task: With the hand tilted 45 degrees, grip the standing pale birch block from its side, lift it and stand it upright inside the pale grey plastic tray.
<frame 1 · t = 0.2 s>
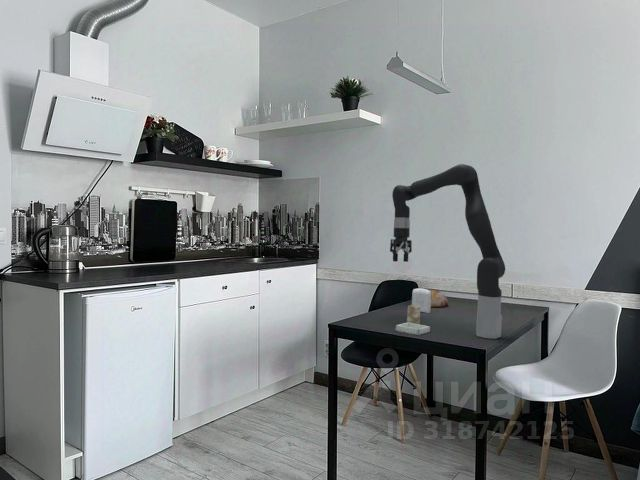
hand: (400, 261, 238), 28 cm above the table, fingers open, 8 cm apart
tray: (412, 331, 215), on the table
birch block: (413, 325, 227), on the table
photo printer: (420, 312, 265), on the table
bread: (432, 306, 288), on the table
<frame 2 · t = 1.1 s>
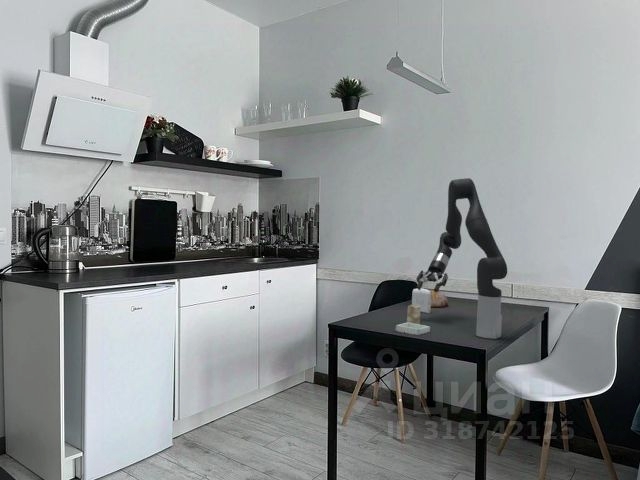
hand: (426, 290, 235), 15 cm above the table, fingers open, 8 cm apart
nothing on the table moved.
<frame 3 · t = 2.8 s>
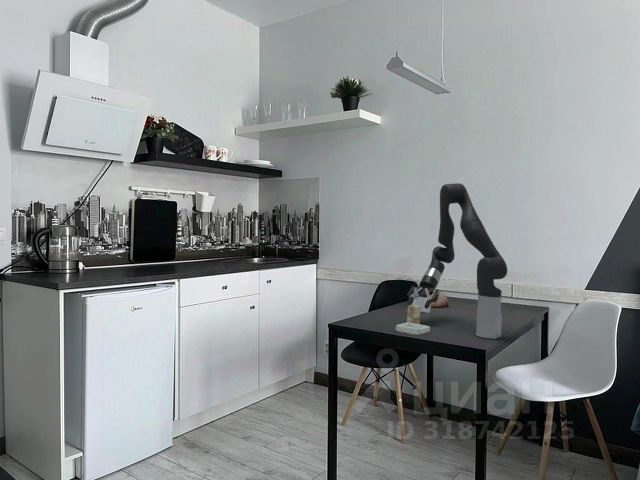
hand: (417, 306, 229), 9 cm above the table, fingers open, 8 cm apart
nothing on the table moved.
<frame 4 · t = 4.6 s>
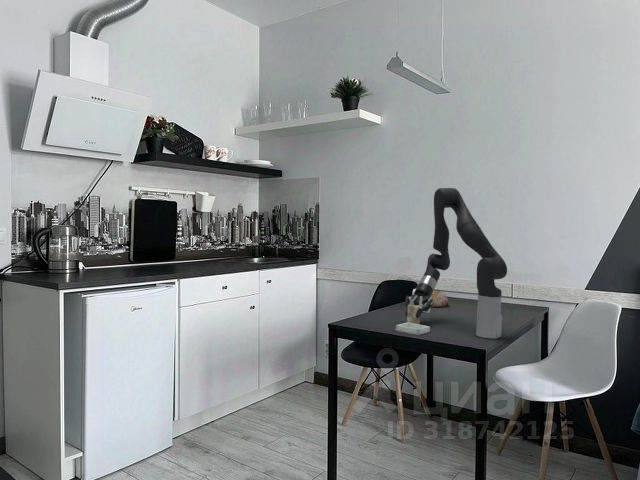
hand: (411, 316, 225), 5 cm above the table, fingers closed on birch block, 4 cm apart
birch block: (413, 325, 227), on the table, touching gripper
everything else where it was.
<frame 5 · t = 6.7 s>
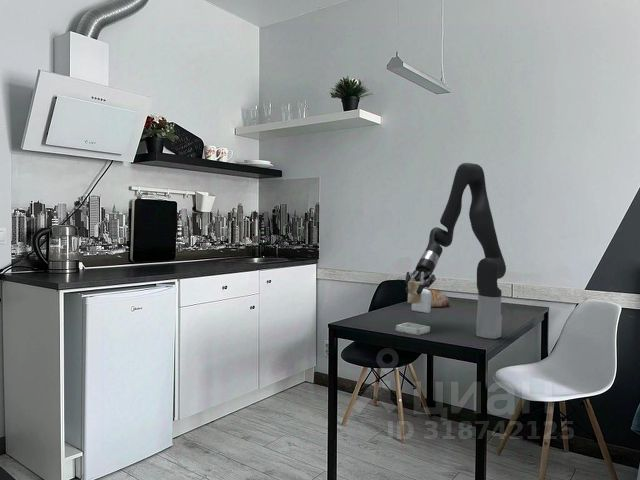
hand: (412, 292, 213), 17 cm above the table, fingers closed on birch block, 4 cm apart
birch block: (414, 302, 215), point 12 cm above the table, touching gripper
everything else where it was.
when the fingers open (6 cm above the table, at t = 9.2 s): birch block stays where it is, resting on tray.
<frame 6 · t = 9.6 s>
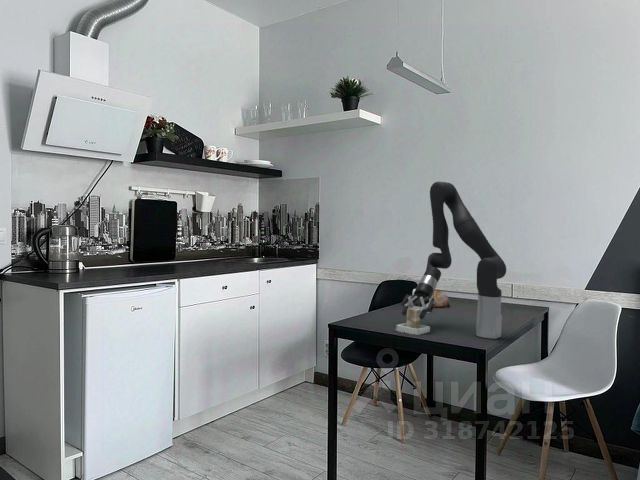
hand: (411, 316, 213), 7 cm above the table, fingers open, 8 cm apart
birch block: (412, 330, 215), point 1 cm above the table, touching tray
everything else where it was.
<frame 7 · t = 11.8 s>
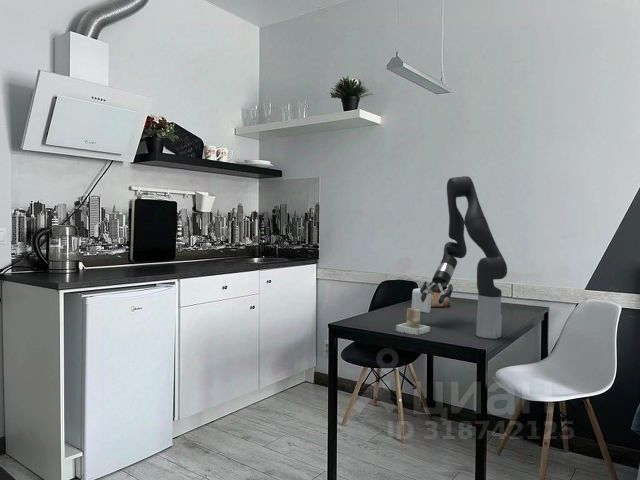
hand: (430, 301, 224), 12 cm above the table, fingers open, 8 cm apart
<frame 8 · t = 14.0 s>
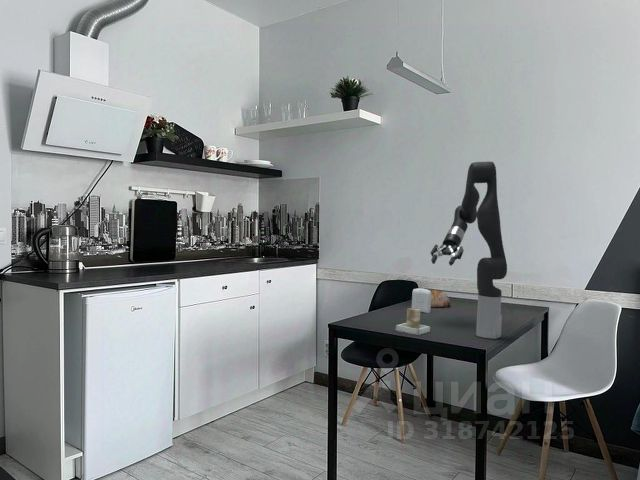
hand: (441, 263, 227), 29 cm above the table, fingers open, 8 cm apart
at the end: birch block inside the target area on the tray (0.0 cm from its centre), point 0.6 cm above the tray's base; birch block tilted 0°; the gripper is holding nothing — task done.
